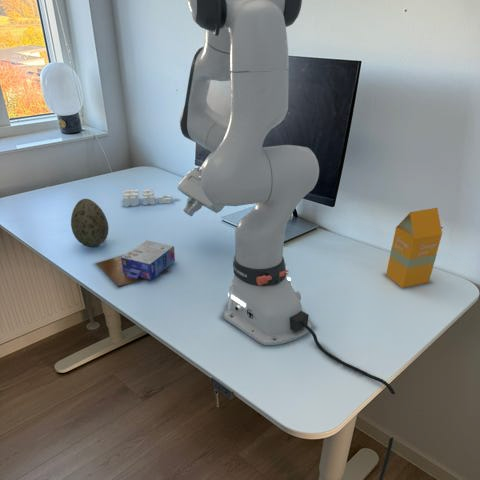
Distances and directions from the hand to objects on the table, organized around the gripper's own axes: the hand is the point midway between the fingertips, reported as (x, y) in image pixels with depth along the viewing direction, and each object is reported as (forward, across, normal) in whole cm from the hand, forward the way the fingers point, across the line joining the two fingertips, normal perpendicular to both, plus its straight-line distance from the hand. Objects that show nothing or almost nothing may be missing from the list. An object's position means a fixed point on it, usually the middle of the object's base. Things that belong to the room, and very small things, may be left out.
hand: (187, 213), depth 135 cm
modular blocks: (+3, -45, +14) cm, 47 cm away
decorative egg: (+25, -20, -8) cm, 33 cm away
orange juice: (-20, +50, +38) cm, 65 cm away
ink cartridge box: (+13, +1, 0) cm, 13 cm away
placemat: (+22, 0, -5) cm, 23 cm away
